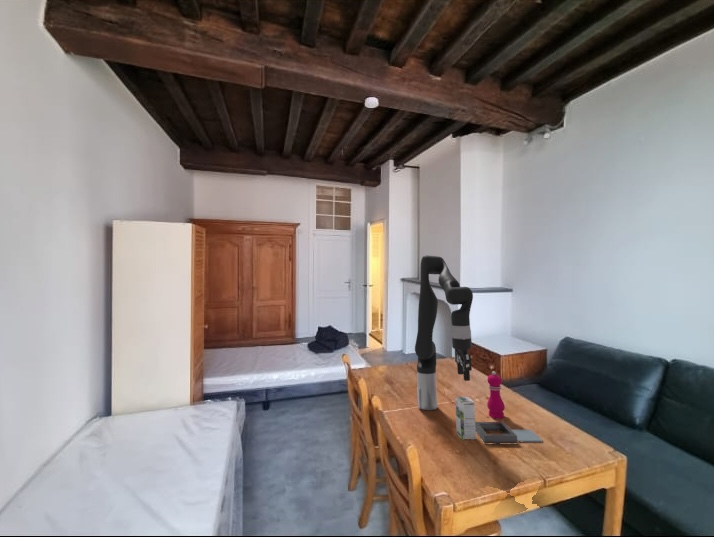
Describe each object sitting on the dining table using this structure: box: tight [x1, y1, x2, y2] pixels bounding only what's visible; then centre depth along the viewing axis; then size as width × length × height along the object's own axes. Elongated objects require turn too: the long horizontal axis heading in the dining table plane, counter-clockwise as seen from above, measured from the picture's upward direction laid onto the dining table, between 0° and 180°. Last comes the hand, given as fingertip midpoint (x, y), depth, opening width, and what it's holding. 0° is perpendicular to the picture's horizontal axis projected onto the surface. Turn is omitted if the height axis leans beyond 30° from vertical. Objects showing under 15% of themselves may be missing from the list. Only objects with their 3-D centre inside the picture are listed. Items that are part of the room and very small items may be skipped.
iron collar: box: [475, 421, 518, 445], centre depth 120 cm, size 12×12×3 cm
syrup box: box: [455, 396, 477, 441], centre depth 121 cm, size 6×6×14 cm
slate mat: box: [511, 429, 544, 443], centre depth 119 cm, size 9×9×1 cm
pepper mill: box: [486, 370, 506, 420], centre depth 139 cm, size 7×7×20 cm
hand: (463, 377), depth 122 cm, fingers open, 8 cm apart
